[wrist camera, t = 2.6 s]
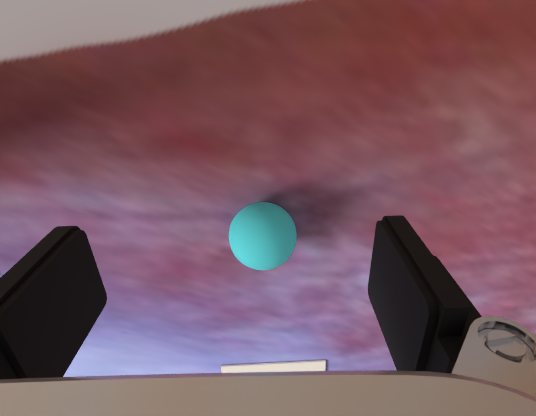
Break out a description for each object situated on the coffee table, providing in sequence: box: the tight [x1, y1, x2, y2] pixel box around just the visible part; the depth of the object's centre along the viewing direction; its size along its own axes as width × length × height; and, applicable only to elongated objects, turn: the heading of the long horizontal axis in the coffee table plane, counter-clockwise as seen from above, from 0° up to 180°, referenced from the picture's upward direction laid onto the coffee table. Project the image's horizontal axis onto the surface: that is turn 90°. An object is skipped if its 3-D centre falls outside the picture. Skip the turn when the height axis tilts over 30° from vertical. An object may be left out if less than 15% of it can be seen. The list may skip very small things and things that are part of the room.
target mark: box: [221, 360, 326, 373], centre depth 41 cm, size 12×12×1 cm
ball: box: [229, 202, 297, 270], centre depth 27 cm, size 6×6×6 cm
